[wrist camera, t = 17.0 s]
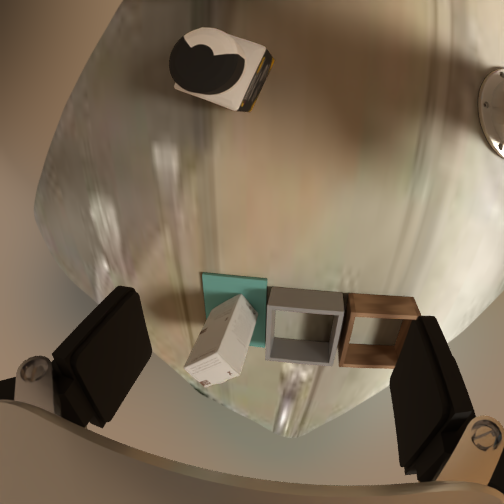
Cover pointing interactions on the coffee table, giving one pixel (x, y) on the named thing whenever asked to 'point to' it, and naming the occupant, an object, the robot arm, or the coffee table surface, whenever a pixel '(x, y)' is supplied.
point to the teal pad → (229, 286)
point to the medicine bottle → (220, 68)
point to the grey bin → (306, 304)
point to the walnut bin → (376, 309)
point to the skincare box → (223, 342)
